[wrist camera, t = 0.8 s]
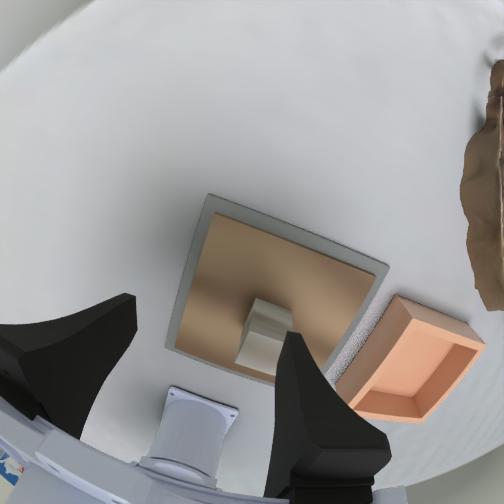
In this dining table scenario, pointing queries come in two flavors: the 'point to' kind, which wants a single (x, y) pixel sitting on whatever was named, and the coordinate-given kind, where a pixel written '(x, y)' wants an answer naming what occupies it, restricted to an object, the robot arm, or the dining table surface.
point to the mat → (279, 229)
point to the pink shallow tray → (408, 363)
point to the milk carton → (10, 467)
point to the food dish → (487, 197)
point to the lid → (266, 299)
